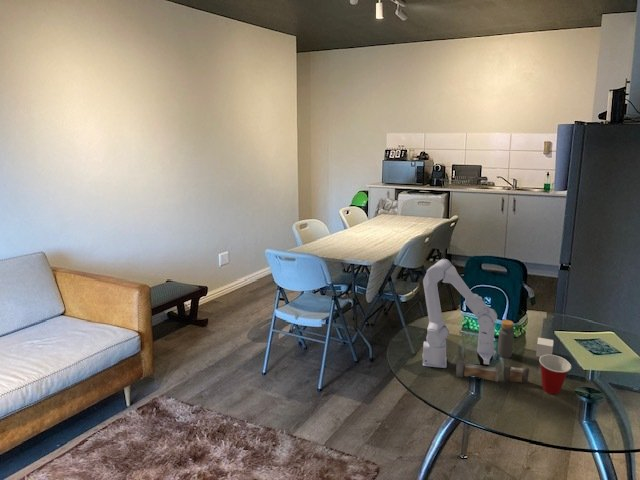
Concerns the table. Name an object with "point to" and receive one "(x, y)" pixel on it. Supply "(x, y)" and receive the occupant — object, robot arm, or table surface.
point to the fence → (516, 374)
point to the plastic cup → (553, 372)
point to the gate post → (459, 368)
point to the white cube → (544, 347)
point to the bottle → (506, 339)
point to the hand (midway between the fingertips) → (483, 371)
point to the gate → (482, 372)
